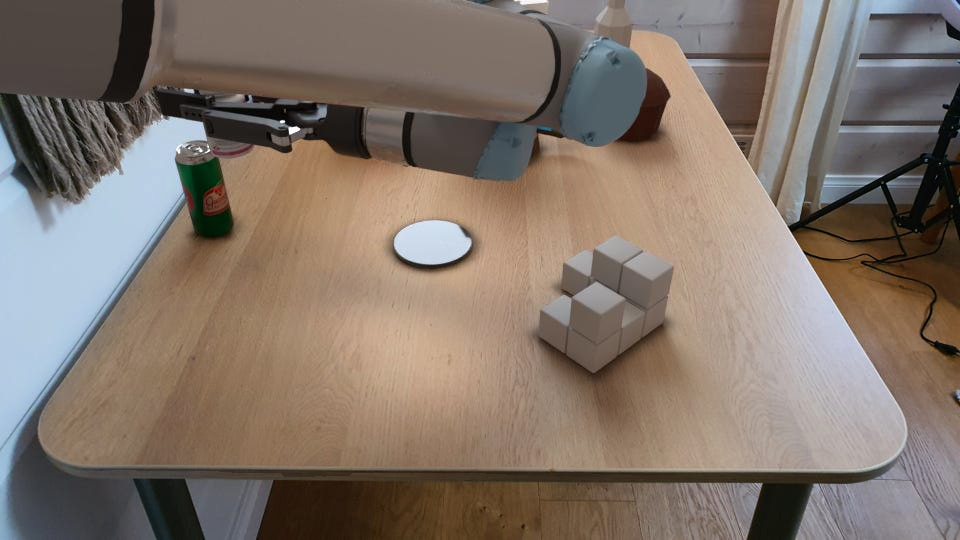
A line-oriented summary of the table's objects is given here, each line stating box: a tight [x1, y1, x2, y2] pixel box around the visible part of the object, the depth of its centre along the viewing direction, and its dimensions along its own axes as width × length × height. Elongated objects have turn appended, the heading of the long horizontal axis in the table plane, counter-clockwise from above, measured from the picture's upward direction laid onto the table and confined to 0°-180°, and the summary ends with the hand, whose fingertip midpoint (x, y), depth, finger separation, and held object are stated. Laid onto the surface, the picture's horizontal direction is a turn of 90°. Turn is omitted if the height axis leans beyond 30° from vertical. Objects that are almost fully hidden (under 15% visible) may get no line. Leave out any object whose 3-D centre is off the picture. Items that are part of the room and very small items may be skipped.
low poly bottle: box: [593, 0, 634, 49], centre depth 130 cm, size 6×6×22 cm
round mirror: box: [393, 219, 473, 269], centre depth 94 cm, size 10×10×1 cm
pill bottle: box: [199, 90, 255, 160], centre depth 78 cm, size 5×5×8 cm
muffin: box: [616, 67, 672, 143], centre depth 118 cm, size 12×11×10 cm
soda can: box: [174, 139, 235, 240], centre depth 93 cm, size 5×5×12 cm
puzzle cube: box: [538, 235, 675, 374], centre depth 80 cm, size 12×12×8 cm
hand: (178, 91), depth 78 cm, fingers closed on pill bottle, 5 cm apart
